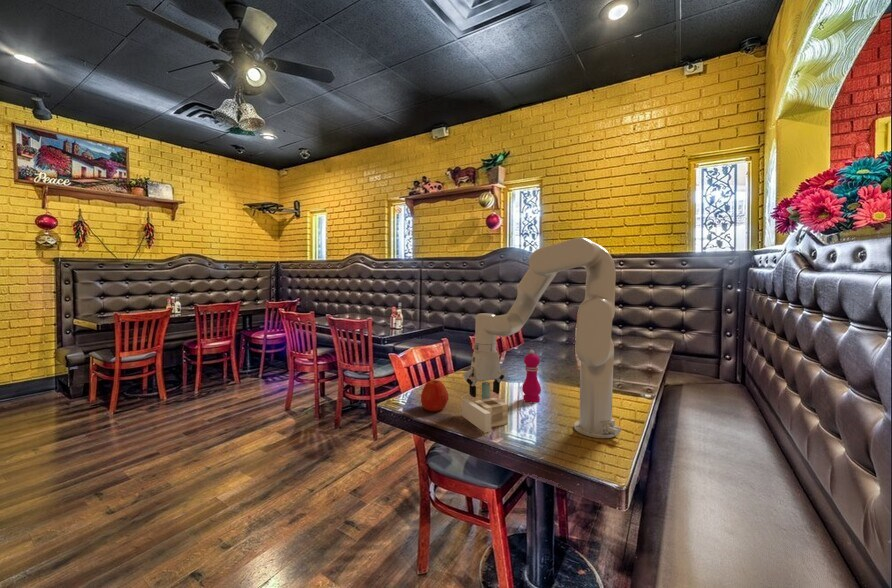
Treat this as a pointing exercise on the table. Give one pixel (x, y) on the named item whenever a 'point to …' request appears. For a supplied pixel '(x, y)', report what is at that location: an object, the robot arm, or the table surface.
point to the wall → (476, 415)
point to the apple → (434, 396)
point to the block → (495, 410)
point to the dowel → (485, 390)
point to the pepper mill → (531, 378)
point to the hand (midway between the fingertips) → (484, 394)
